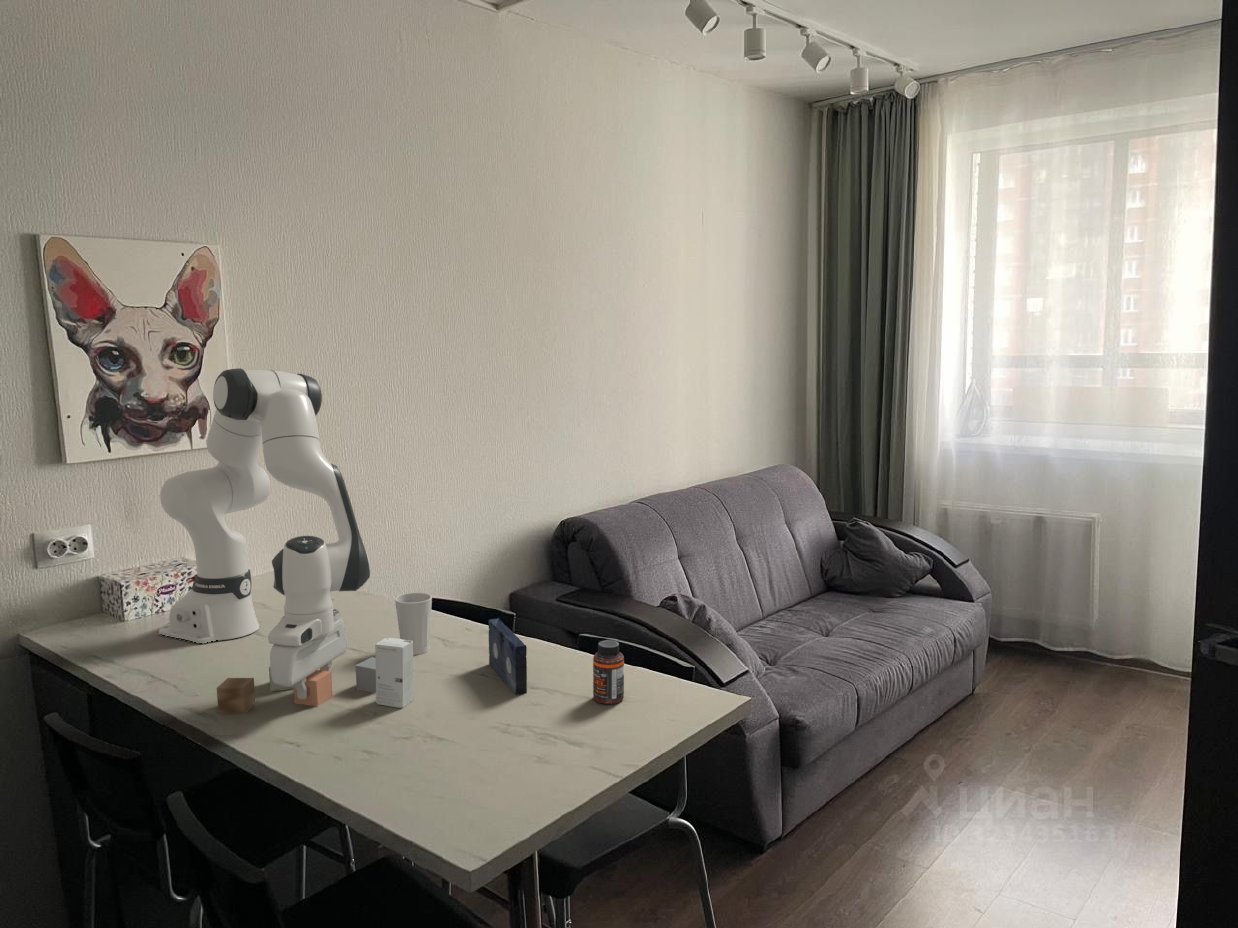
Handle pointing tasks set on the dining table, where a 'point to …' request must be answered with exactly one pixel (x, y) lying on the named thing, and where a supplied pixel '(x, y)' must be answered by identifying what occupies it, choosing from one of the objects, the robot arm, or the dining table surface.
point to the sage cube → (275, 687)
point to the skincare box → (394, 672)
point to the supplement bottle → (608, 673)
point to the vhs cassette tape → (508, 656)
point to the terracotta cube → (317, 688)
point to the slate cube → (366, 675)
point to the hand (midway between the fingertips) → (313, 691)
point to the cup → (415, 619)
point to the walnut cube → (236, 695)
